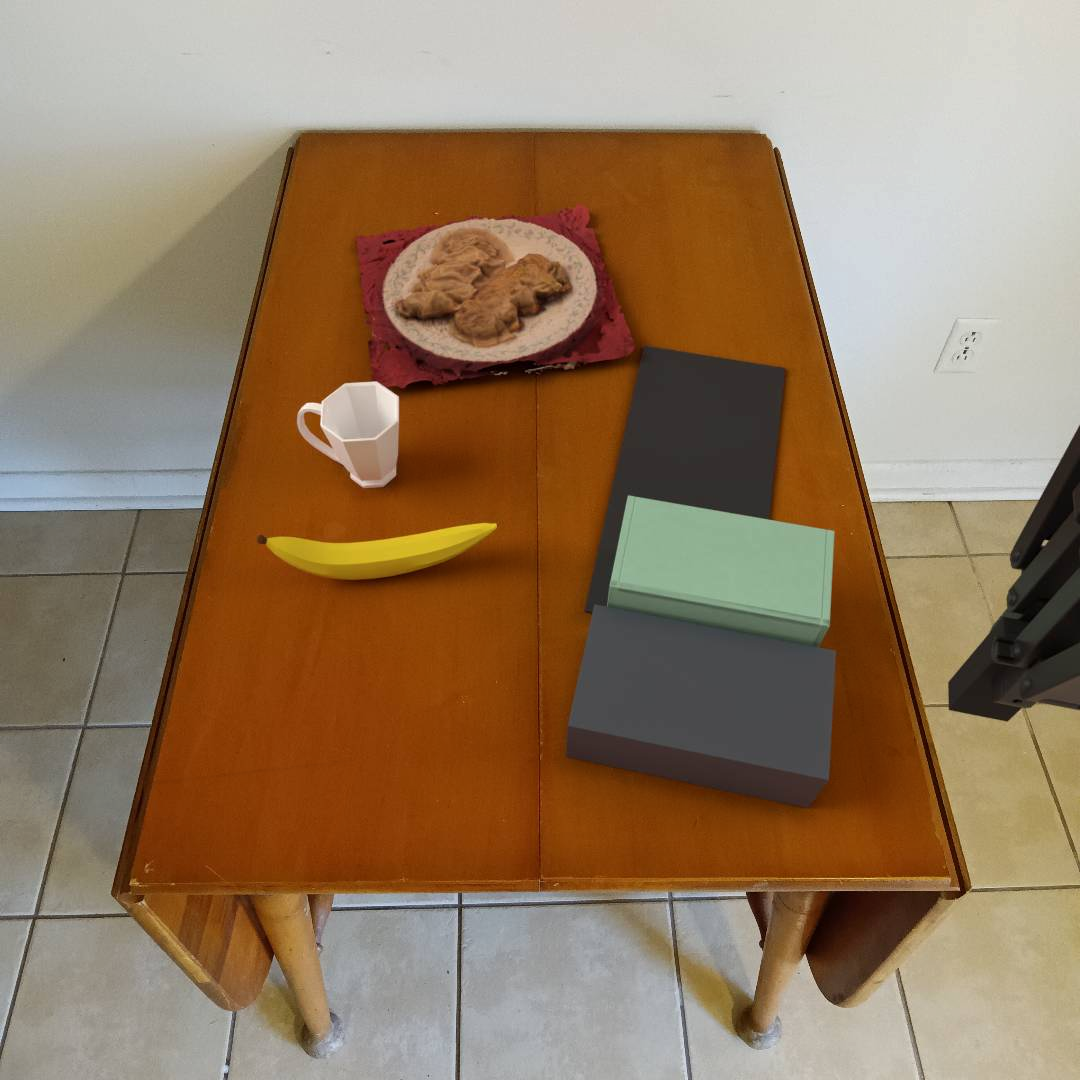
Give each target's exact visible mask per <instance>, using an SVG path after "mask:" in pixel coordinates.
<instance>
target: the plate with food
mask: <svg viewBox="0 0 1080 1080" xmlns="http://www.w3.org/2000/svg"><path fill="white" fill-rule="evenodd" d="M590 219H591V216H590V213H589V209H588V207H586V206H585V205H584V204H581V203H580V204H578V205H576V206H575V207H572V208H571V209H570V208H568V207H566V206H564V207H563V210H561V209H559V210H557V213H555V214H554V213H552V214H540V215H535V216H527V217H524V216H522V217H521V215H514V214H506V215H504V216H501V217H498V218H494V217H493V218H490V217H488V216H483V217H482V216H481V217H480V216H478V215H474V214H472V215H469V216H468V217H467V218H464V219H462V220H461V221H460V220H457V221H455V220H453V221H450V222H449V221H447V222H446V224H445V225H441V224H438V225H435V224H432V225H431V226H429V225H422V226H421V225H420V226H417V227H416V228H414V229H404V230H401V229H400V230H399V229H397V230H394V229H391V230H389V231H387V232H386V233H385V232H381V233H380V234H375V235H373V234H370V235H355V241H356V250H357V260H358V266H359V275H360V283H361V284H360V285H361V292H362V300H363V301H362V302H363V311H364V313H365V314H366V315H367V316H368V317H369V318H370V319H369V318H365V319H364V322H365V324H367V325H369V326H370V328H371V336H372V337H370V339H369V340H368V341H367V346H368V347H367V348H368V356H369V364H370V366H369V367H370V369H371V371H372V373H373V374H371V382H376V381H377V382H378V383H380V384H381V385H383V386H384V387H385V388H389V387H398V388H400V389H405V388H406V387H407V385H409V384H412V383H416V382H420V381H421V382H422V381H428V382H429V381H430V382H432V384H433V385H435V387H437V386H438V385H445V383H446V384H448V382H449V381H454V380H458V379H460V380H464V379H473V378H477V377H482V376H486V375H491V374H493V376H494V375H495V376H496V377H499V376H501V375H504V376H507V374H508V371H506V370H505V371H499V372H498V371H497V370H491V371H480V370H482V369H485V368H488V367H489V368H490V367H491V366H495V365H502V364H509V363H514V362H517V361H521V362H525V361H533V362H534V363H533V365H534V366H537V367H534V368H529V369H527V370H525V373H528V374H531V373H532V372H535V374H538V375H541V374H542V372H543V370H549V369H550V370H551V369H553V368H554V369H559V370H561V369H563V370H565V371H568V370H569V369H571V370H574V369H575V368H577V367H580V365H581V364H582V365H583V366H586V365H587V364H588V363H591V364H593V363H595V362H602V361H606V360H607V361H608V360H609V361H610V360H617V359H619V358H622V357H624V356H625V357H628V356H629V355H630V354H631V353H633V352H634V349H636V348H637V347H636V346H635V342H634V339H633V338H632V334H631V329H630V328H629V326H628V325H627V321H626V319H625V313H620V311H621V309H622V305H620V302H619V300H618V297H617V294H616V291H615V289H614V285H613V281H612V278H611V277H610V276H608V274H607V271H606V268H605V267H606V266H607V263H603V259H602V258H603V257H602V255H601V249H600V247H599V242H598V241H597V238H596V234H595V230H594V227H587V225H588V224H589V221H590ZM391 240H392V241H393V242H389V243H385V242H387V241H391ZM386 343H388V346H389V350H388V349H387V348H386ZM538 371H540V372H538Z"/></svg>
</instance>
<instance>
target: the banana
mask: <svg viewBox="0 0 1080 1080" xmlns="http://www.w3.org/2000/svg"><path fill="white" fill-rule="evenodd" d="M498 527H499V524H498V523H495V522H494V523H490V522H480V523H472V524H465V525H457V526H452V527H451V526H450V527H446V528H441V529H435V530H431V531H427V532H422V533H415V534H410V535H404V536H397V537H392V538H391V537H390V538H385V539H376V540H369V541H357V542H356V541H355V542H324V541H319V540H311V539H307V538H302V537H294V536H274V537H265V536H264V535H263V534H259V535H257V537H256V541H257V544H258V545H265V546H266V547H267V549H269V550H270V551H271V552H272V553H273V554H274V555H275V556H276V557H278V558H279V559H280V560H282V561H283V562H285V563H287V564H288V565H290V566H292V567H294V568H296V569H298V570H300V571H303V572H305V573H308V574H311V575H314V576H318V577H321V578H327V579H328V578H329V579H335V580H346V581H347V580H349V581H350V580H351V581H356V580H373V579H380V578H386V577H387V578H388V577H394V576H397V575H402V574H407V573H408V574H409V573H411V572H415V571H419V570H422V569H426V568H430V567H432V566H435V565H438V564H441V563H445V562H447V561H448V560H451V559H453V558H455V557H457V556H460V555H461V554H463V553H464V552H466V551H467V550H470V548H472V547H474V546H475V545H477V544H479V543H480V542H481V541H482V540H484V539H485V538H487V537H488V536H489V535H490V534H492V533H493V532H494V531H496V530H497V529H498Z"/></svg>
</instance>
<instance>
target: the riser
mask: <svg viewBox="0 0 1080 1080" xmlns="http://www.w3.org/2000/svg"><path fill="white" fill-rule="evenodd" d="M836 656H837V650H834V649H829V648H825V647H820V646H819V647H814V646H809V645H803V644H798V643H793V642H788V641H783V640H777V639H772V638H767V637H762V636H757V635H752V634H746V633H741V632H736V631H731V630H726V629H720V628H715V627H710V626H705V625H700V624H694V623H689V622H684V621H679V620H674V619H668V618H663V617H658V616H653V615H648V614H642V613H637V612H632V611H627V610H622V609H616V608H611V607H606V606H601V605H596V604H595V605H594V608H593V613H591V617H590V623H589V626H588V632H587V636H586V641H585V646H584V649H583V654H582V658H581V663H580V667H579V672H578V676H577V677H578V678H577V682H576V685H575V686H576V687H575V691H574V695H573V700H572V705H571V710H570V714H569V719H568V724H567V732H566V733H567V734H566V747H565V748H566V750H565V757H566V758H570V759H574V760H579V761H583V762H588V763H593V764H597V765H603V766H607V767H611V768H617V769H621V770H626V771H631V772H635V773H640V774H645V775H650V776H653V777H659V778H663V779H669V780H674V781H678V782H682V783H687V784H692V785H696V786H700V787H705V788H710V789H716V790H721V791H725V792H729V793H733V794H740V795H742V796H743V795H744V796H749V797H753V798H758V799H762V800H767V801H772V802H775V803H782V804H786V805H791V806H795V807H800V808H805V809H809V808H810V806H811V805H812V804H813V802H814V801H815V800H816V798H817V797H818V796H819V794H820V792H821V791H822V790H823V789H824V787H825V786H826V785H827V783H828V782H829V781H830V769H831V768H830V767H831V749H832V731H833V715H834V713H833V712H834V693H835V678H836V677H835V675H836V658H837V657H836Z"/></svg>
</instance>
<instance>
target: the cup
mask: <svg viewBox="0 0 1080 1080" xmlns="http://www.w3.org/2000/svg"><path fill="white" fill-rule="evenodd" d="M310 412H311V413H313V414H316V415H319V416H320V422H319V423H320V425H319V426H320V428H321V429H322V431H323V434H324V435H325V437H326V439H327V440H328V442H329V444H330V446H329V445H328V444H326V443H325V442H324V441H322V440H321V439H319V438H318V437H317V436H316V435H315V434H313V433H312V432H311V431H310V430H309V428H308V427H307V425H306V422H305V421H306V420H305V414H306V413H310ZM296 416H297V417H296V424H297V429H298V431H299V433H300V434H301V436H302V437H303V439H304V440H305V441H306V442H308V443H309V444H310V445H311V447H313V448H315V449H316V450H318V451H319V452H321V453H322V454H323V455H325V456H327V457H329V458H330V459H332V460H333V461H335V462H337V463H339V464H341V465H343V466H344V468H345V469H346V471H347V472H349V473H350V474H349V476H350V479H351V480H352V481H353V482H355V483H356V484H357V485H359V486H360V487H362V488H363V489H374V488H383V487H385V486H386V485H388V483H389V482H391V481H392V480H393V479H394V478H395V477H396V476H397V462H398V458H399V435H400V434H399V431H400V430H399V429H400V395H397V394H396V393H394V392H393V391H392V390H390V389H388V387H384V386H383V385H381V384H380V383H378V382H377V381H376V382H372V381H362V382H361V381H359V382H345V383H344V384H342V385H341V386H339V387H338V388H336V390H334V391H333V392H332V393H330V394H329V395H328V396H327V397H325V398H324V399H323V400H321V403H317V402H306V403H304V405H302V406H301V408H300V409H299V411H298V412H297V415H296Z"/></svg>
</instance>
